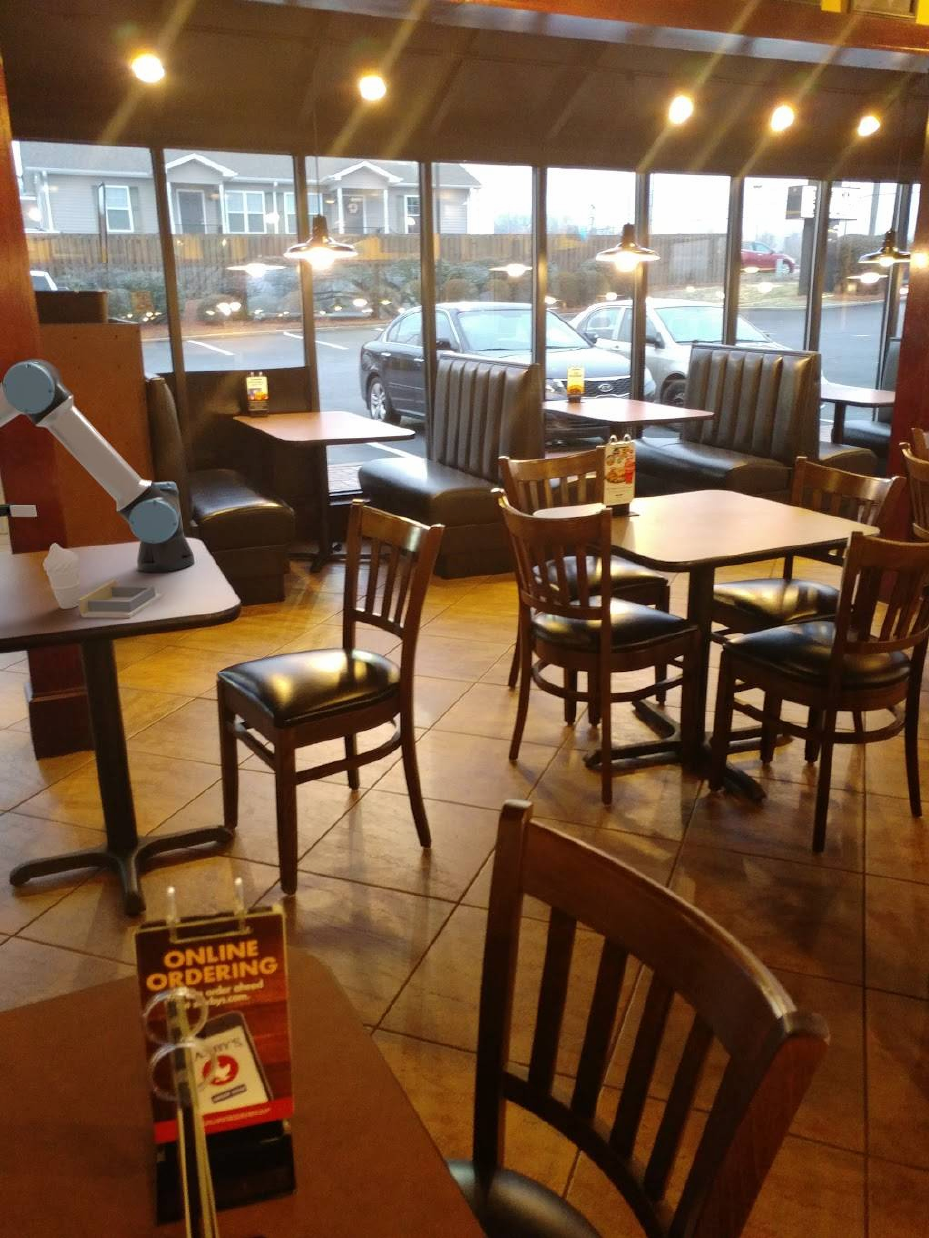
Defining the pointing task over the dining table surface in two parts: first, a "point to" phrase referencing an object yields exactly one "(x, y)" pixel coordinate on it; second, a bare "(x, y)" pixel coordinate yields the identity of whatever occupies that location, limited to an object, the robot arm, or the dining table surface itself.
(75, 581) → the soft serve ice cream cone
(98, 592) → the grey shallow tray
